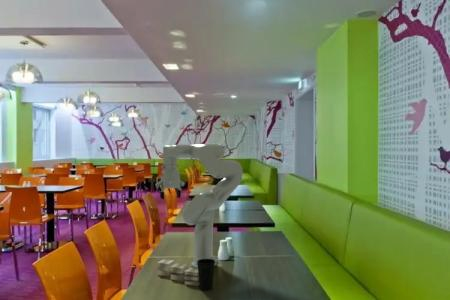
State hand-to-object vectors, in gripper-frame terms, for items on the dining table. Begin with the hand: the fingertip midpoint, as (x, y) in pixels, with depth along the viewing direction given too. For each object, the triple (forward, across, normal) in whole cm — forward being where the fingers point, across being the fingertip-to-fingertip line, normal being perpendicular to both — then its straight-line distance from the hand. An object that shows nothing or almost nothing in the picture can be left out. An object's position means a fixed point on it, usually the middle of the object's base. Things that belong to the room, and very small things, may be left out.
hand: (170, 198), depth 234 cm
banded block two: (+33, -9, -45) cm, 56 cm away
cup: (+34, -8, -54) cm, 64 cm away
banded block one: (+33, -12, -35) cm, 50 cm away
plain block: (+33, -15, -26) cm, 44 cm away
